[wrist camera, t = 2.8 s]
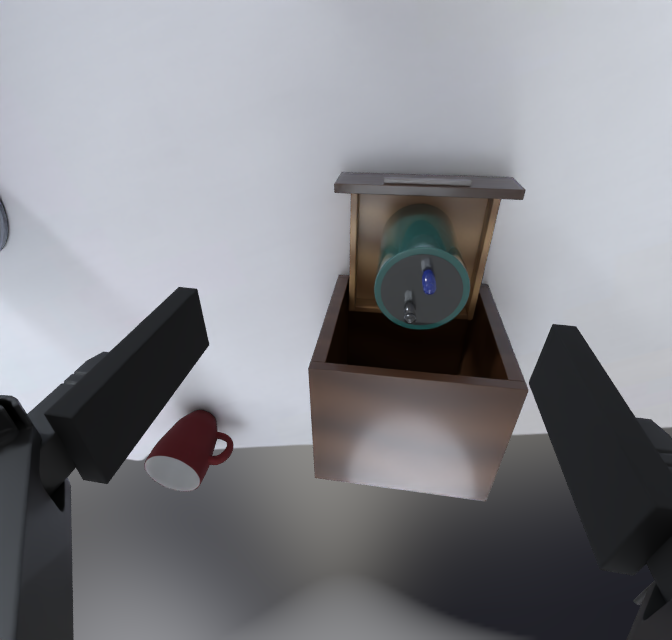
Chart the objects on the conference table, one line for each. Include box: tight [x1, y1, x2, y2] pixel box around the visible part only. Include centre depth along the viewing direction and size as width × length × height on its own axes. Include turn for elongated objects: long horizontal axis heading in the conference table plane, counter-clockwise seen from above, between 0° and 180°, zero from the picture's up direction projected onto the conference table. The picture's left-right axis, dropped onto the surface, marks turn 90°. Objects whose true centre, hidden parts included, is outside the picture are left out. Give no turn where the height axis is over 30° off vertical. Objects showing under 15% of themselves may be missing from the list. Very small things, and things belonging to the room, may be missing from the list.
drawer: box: [334, 172, 525, 320], centre depth 36 cm, size 14×15×4 cm
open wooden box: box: [308, 275, 528, 501], centre depth 38 cm, size 14×16×16 cm
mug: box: [144, 410, 233, 491], centre depth 55 cm, size 10×8×10 cm
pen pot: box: [374, 204, 470, 330], centre depth 31 cm, size 7×7×13 cm
